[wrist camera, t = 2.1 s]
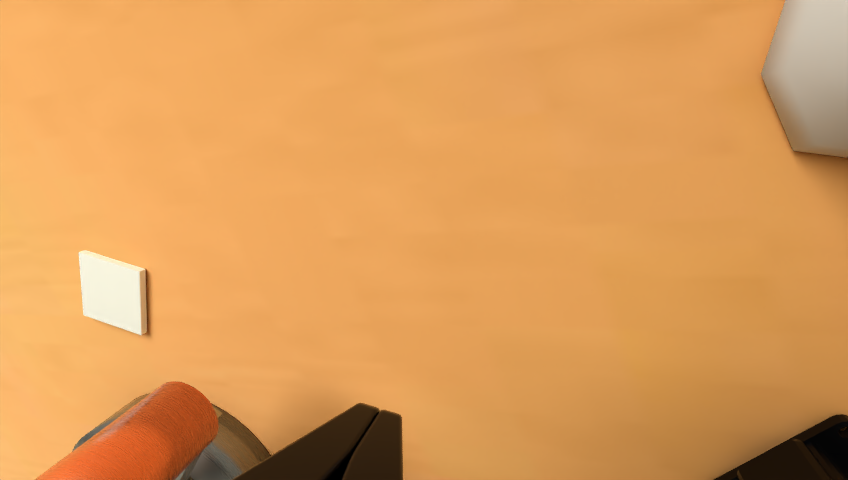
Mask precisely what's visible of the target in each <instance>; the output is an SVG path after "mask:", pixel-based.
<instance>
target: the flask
mask: <svg viewBox="0 0 848 480" xmlns="http://www.w3.org/2000/svg"><path fill="white" fill-rule="evenodd" d="M761 76H762V78H763V80H764V83H765V85H766V88H767V90H768V92H769V95H770V97H771V99H772V102H773V104H774V107H775V109H776V111H777V114H778V116H779V118H780V121H781V123H782V126H783V128H784V130H785V133H786V135H787V137H788V140H789V142H790V144H791V147H792V149H793V151H800V152H808V153H815V154H823V155H831V156H838V157H846V158H848V0H785V3H784V6H783V9H782V12H781V15H780V18H779V21H778V24H777V27H776V30H775V33H774V36H773V39H772V42H771V45H770V48H769V51H768V54H767V57H766V60H765V63H764V66H763V69H762V72H761Z"/></svg>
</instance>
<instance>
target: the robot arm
mask: <svg viewBox="0 0 848 480" xmlns="http://www.w3.org/2000/svg"><path fill="white" fill-rule="evenodd" d="M843 427H848V416H847V415H835V416H832V417H830V418H828V419H826V420H824V421H822V422H821V423H819V424H817V425H815V426H813V427H811V428H809V429H808V430H806V431H804V432H802V433H800V434H798V435H796V436H794V437H793V438H791V439H789V440H787V441H785V442H783V443H781V444H780V445H778V446H776V447H774V448H772V449H770V450H768V451H766V452H765V453H763V454H761V455H759V456H757V457H755V458H753V459H752V460H750V461H748V462H746V463H744V464H742V465H740V466H738V467H737V468H735V469H733V470H731V471H729V472H727V473H725V474H724V475H722V476H720V477H718V478H716V479H714V480H848V428H847V429H846V430H843V431H839V430H840V429H841V428H843ZM232 480H403V454H402V417H401V415H399V414H397V413H393V412H390V411H387V410H381V411H380V410H379V409H378V408H377V407H374V406H370V405H367V404H364V403H359V404H356V405H355V406H353V407H351V408H350V409H348V410H346V411H345V412H343V413H341V414H340V415H338V416H336V417H335V418H333V419H331V420H330V421H328V422H326V423H325V424H323V425H321V426H320V427H318V428H316V429H315V430H313V431H312V432H310V433H308V434H307V435H305V436H303V437H302V438H300V439H298V440H297V441H295V442H293V443H292V444H290V445H288V446H287V447H285V448H283V449H282V450H280V451H278V452H277V453H275V454H273V455H272V456H270V457H268V458H267V459H265V460H263V461H262V462H260V463H259V464H257V465H255V466H254V467H252V468H250V469H249V470H247V471H245V472H244V473H242V474H240V475H239V476H237V477H235V478H234V479H232Z"/></svg>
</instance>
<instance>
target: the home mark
mask: <svg viewBox="0 0 848 480" xmlns="http://www.w3.org/2000/svg"><path fill="white" fill-rule="evenodd" d="M79 263H80V276H81V288H82V301H83V314H84V315H85V316H88V317H90V318H93V319H96V320H99V321H102V322H105V323H108V324H111V325H113V326H116V327H119V328H122V329H125V330H128V331H131V332H133V333H136V334H139V335H143V334H144V333H146V332H147V308H146V269H144V268H141V267H137V266H134V265H131V264H128V263H125V262H122V261H119V260H115V259H112V258H109V257H106V256H103V255H100V254H97V253H93V252H90V251H87V250H84V251H81V252H79Z"/></svg>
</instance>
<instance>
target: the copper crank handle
mask: <svg viewBox="0 0 848 480" xmlns="http://www.w3.org/2000/svg"><path fill="white" fill-rule="evenodd" d="M221 415H222V412H220V411H219V410H218V409H216V408H215V407H213V406H212V405H211V403H210V402H209V400H208V399H207V398H206V397H205V396H204V395H203V394H202V393H201V392H199V391H198V390H197V389H195V388H194V387H192V386H190V385H188V384H185V383H182V382H168V383H165V384H163V385H161V386H160V387H159V388H157V389H156V390H155V391H153V392H152V393H151V394H149V395H148V396H146V397H145V398H144V399H142V400H141V401H140V402H138V403H137V404H136V405H134V406H133V407H132V408H130V409H129V410H128V411H126V412H125V413H124V414H122V415H121V416H120V417H118V418H117V419H116V420H114V421H113V422H112V423H110V424H109V425H108V426H106V427H105V428H103V429H102V430H101V431H99V432H98V433H97V434H95V435H94V436H93V437H91V438H90V439H89V440H87V441H86V442H85V443H83V444H82V445H81V446H79V447H78V448H77V449H75V450H74V451H73V452H71V453H70V454H69V455H67V456H66V457H64V458H63V459H62V460H60V461H59V462H58V463H56V464H55V465H54V466H52V467H51V468H50V469H48V470H47V471H46V472H44V473H43V474H42V475H40V476H39V477H38V478H36V479H35V480H188V478H189V477H190V475H191V473H192V471H193V469H194V467H195V465H196V463H197V461H198V459H199V457H200V455H201V453H202V452H203V450H204V449H205V448H206V447H207V446H208V445H209V444H210V443H211V442H212V441H213V440H214V439H215V437H216V435H217V433H218V426H219V425H218V421H219V419H220V417H221Z"/></svg>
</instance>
